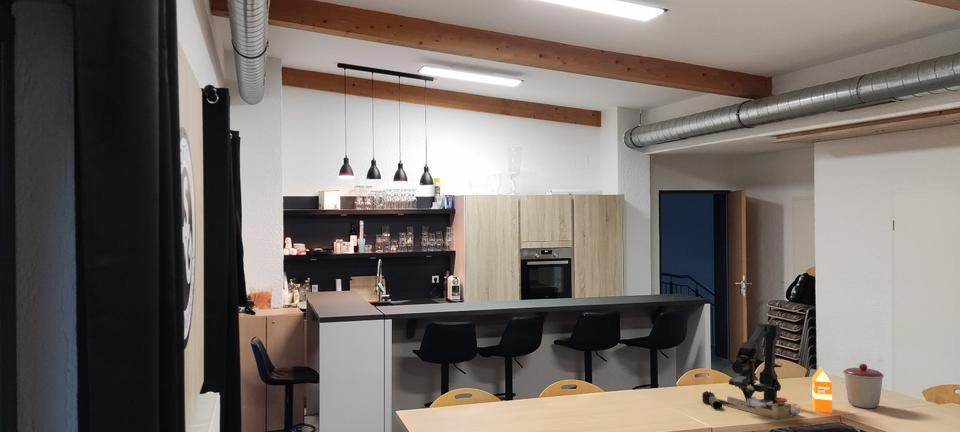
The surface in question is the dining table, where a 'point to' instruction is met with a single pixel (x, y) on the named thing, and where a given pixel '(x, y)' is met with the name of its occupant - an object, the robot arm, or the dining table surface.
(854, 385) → the canister
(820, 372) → the orange juice
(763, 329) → the robot arm
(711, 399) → the grey brown wooden log
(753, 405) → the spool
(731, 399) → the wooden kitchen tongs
